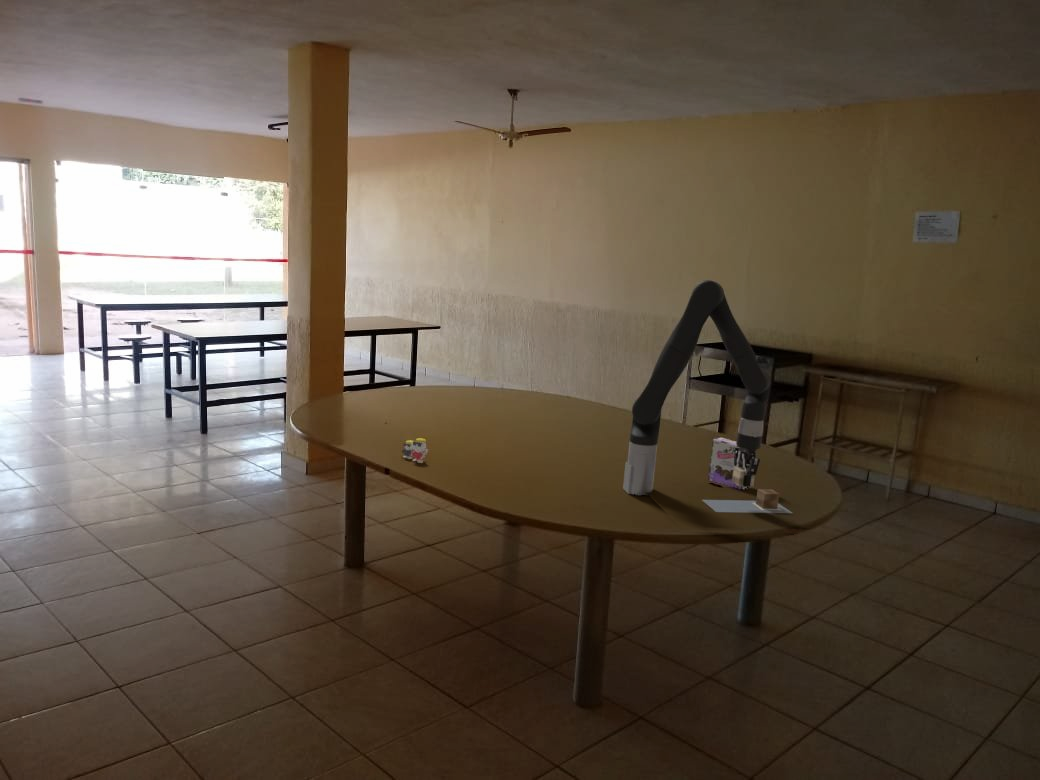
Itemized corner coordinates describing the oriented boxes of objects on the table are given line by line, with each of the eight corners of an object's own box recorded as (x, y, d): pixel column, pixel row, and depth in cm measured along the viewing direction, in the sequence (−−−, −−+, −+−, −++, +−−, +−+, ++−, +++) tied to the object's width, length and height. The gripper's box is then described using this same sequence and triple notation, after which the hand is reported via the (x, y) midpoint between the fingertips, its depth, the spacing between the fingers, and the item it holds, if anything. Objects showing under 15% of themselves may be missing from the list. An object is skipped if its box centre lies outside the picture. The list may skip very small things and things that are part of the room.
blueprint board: (715, 515, 248) (716, 511, 248) (701, 503, 260) (701, 499, 259) (792, 516, 253) (792, 512, 252) (774, 504, 264) (775, 500, 264)
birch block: (738, 486, 251) (740, 471, 250) (731, 481, 256) (734, 466, 255) (753, 486, 252) (755, 471, 251) (746, 482, 257) (748, 467, 256)
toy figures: (400, 456, 290) (401, 434, 288) (409, 454, 293) (410, 433, 291) (420, 464, 281) (421, 441, 280) (430, 462, 285) (431, 440, 283)
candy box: (706, 483, 284) (712, 438, 281) (715, 480, 288) (721, 436, 285) (741, 493, 274) (747, 447, 271) (749, 490, 278) (755, 445, 276)
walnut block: (762, 508, 254) (764, 493, 254) (755, 503, 259) (757, 488, 258) (777, 508, 255) (779, 494, 254) (769, 503, 260) (771, 489, 259)
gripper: (729, 426, 257) (722, 476, 260) (749, 437, 243) (741, 490, 247) (751, 427, 259) (743, 477, 262) (771, 438, 245) (763, 491, 248)
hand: (742, 483), depth 254 cm, fingers closed on birch block, 5 cm apart
